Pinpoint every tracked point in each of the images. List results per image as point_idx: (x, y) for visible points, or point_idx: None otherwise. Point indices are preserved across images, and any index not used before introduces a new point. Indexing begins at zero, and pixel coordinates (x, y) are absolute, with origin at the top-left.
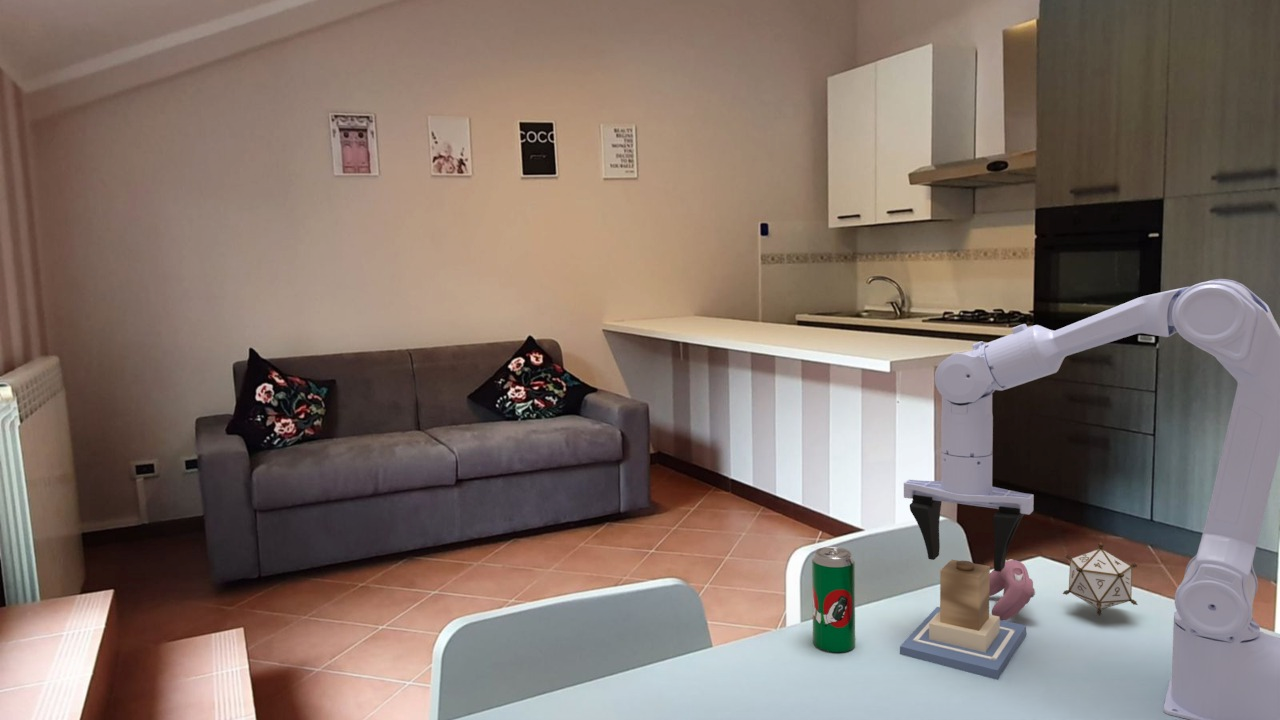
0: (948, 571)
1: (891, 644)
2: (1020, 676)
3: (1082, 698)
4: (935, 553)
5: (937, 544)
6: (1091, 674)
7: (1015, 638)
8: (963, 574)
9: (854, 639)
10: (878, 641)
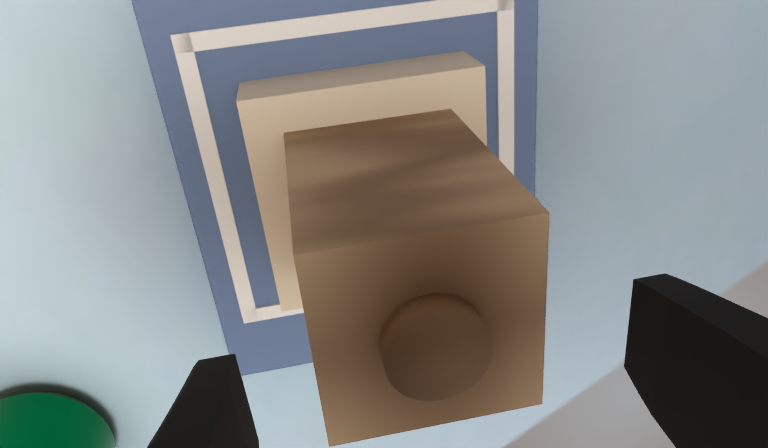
0: (373, 433)
1: (165, 308)
2: (567, 239)
3: (720, 245)
4: (251, 443)
5: (233, 442)
6: (746, 91)
7: (528, 66)
8: (457, 418)
9: (102, 442)
10: (118, 318)
